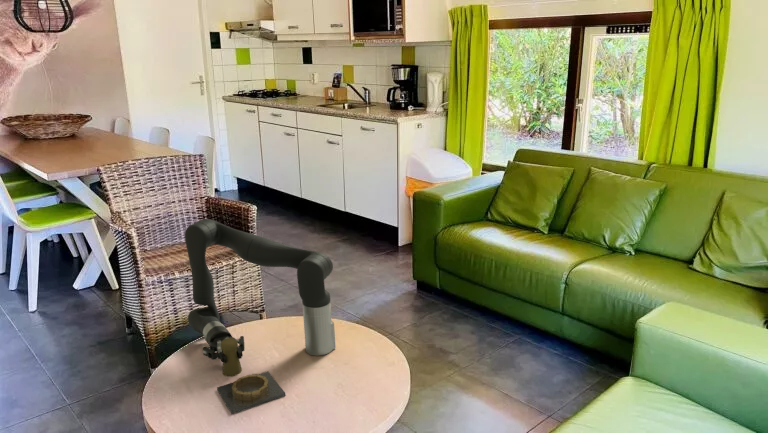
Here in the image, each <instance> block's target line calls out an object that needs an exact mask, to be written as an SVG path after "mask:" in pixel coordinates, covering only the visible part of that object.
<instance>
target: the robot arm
mask: <svg viewBox="0 0 768 433" xmlns="http://www.w3.org/2000/svg"><path fill="white" fill-rule="evenodd" d="M184 240H185V246H186V247H185V248H186V251H187V257H188V261H189V266H190V271H191V278H192V301H193V303H194V304H196V305H197V306H206V307H200V308H195V309H192V310H190V312H189V313H188V314H187V315H188V316H187V322H188V324H189V326H190V328H191V329H192V330H194V331H195V332H198V333H200V334H201V335H202V336H203V338H204V341H205V342H206V343H207V344H208V346H202V353H203V356H205V357H206V358H208V359H209V360H213V361H215V360H217V359H218V360H219V361H220V362H221V363H223V362H224V363H227V358H226V356H225V354H224V353H223V351H222V350H221V342H222V341H223V340H224V339H226V338H234V339H236V340H237V342H238V347H237V354H238V358H239V360H240V359H242V357H243V356H244V355H243V352H244V351H245V336H244V335H242V336H241V335H240V337H239V338H235V337H233V335H232V334H231V333H230V331H229V330H228V329H227V327H226V326H225V325H224V324H223V323H221V321H220V313H219V311H218V307H217V305H216V301H215V290H214V289H215V288H214V287H215V285H214V278H213V275H212V272H211V271H210V269H209V267H208V265H207V260H206V253H207V248H209V247H210V246H213V245H218V246H222V247H225V248H227V249H231V250H233V251H234V252H235V253H236V255H237V256H238V257H239V258H241V259H242V260H244V261H245V262H248V263H251V264H253V265H257V266H261V267H265V268H266V267H267V268H291V269H296V270H297V271H296V278H297V279H296V280H297V287H298V293H299V296H300V299H301V303H302V317H303V318H302V319H303V329H304V331H303V332H304V346H305V352H306V353H307V354H308V355H311V356H317V357H318V356H324V355H327V354H329V353H331V352H332V351H333V350H336V330H335V323H334V322H333V321H332V308H331V307H332V306H331V304H332V303H331V301H332V300H331V294H330V292H329V290H326V289H325V288H326V287H325V286H326V285H325V280H326V279H327V278H328V277H329V276H330V275H331V273H332V272H333V271H334V270H333V269H334V264H333V261H332V259H331V258H330V257H329V256H328V255H326V254H325V253H322V252H320V251H315V250H310V249H306V248H305V249H304V248H299V247H295V246H292V245H289V244H285V243H283V242H282V243H281V242H280V241H275V240H272V239H269V238H267V237H263V236H260V235H257V234H252V233H249V232H245V231H243V230H239V229H235V228H232V227H230V226H228V225H225V224H223V223H221V222H219V221H216V220H214V219H210V218H204V219H201V220H198V221H196V222H195V223H192V224H190V225H189V226H188V227H187V228H186V229H185V232H184Z"/></svg>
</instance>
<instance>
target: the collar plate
mask: <svg viewBox="0 0 768 433" xmlns="http://www.w3.org/2000/svg"><path fill="white" fill-rule="evenodd" d="M271 374H272V373H271V372H269V371H264V372H261V373H257V374H247V375H244V376H241V377H238V378H237V379H236V380H235V381H232V382H230V383H228V384H227V383H226V384H223V385H221V386H220V385H219V386H218V387H216V391H217V392H218V394H219V396H220V397H221V399H222V401H223V403H224V404H225V406H226V407H227V409H228V411H229V412H230V413H231V415H234V414H237V413H240V412H243V411H245V410H249V409H251V408H254V407H257V406H260V405H263V404H266V403H268V402H273V401H274V400H278V399H280V398H283V397H285V396H286V392H285V391H284V389H283V388H282V386H281V385H280V384H279V383H278V382H277V380H276V379H275V378H274V377H273V376H272V375H271Z"/></svg>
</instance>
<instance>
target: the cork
mask: <svg viewBox="0 0 768 433" xmlns="http://www.w3.org/2000/svg"><path fill="white" fill-rule="evenodd" d="M234 338H235V337H234ZM234 338H226V339H224V340H223V341H222V342H221V350H222V351H223V353H224V354H225V356H226V358H227V363H224V362H222V369H221V370H222V372H221V373H222V376H225V377H236V376H237V375H239V374H241V373H242V371H243V368H242V365H241V361H240V359H239V358H238V354H237V347H238V345H239V344H238V342H237V340H236V339H237V338H235V339H234Z"/></svg>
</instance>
